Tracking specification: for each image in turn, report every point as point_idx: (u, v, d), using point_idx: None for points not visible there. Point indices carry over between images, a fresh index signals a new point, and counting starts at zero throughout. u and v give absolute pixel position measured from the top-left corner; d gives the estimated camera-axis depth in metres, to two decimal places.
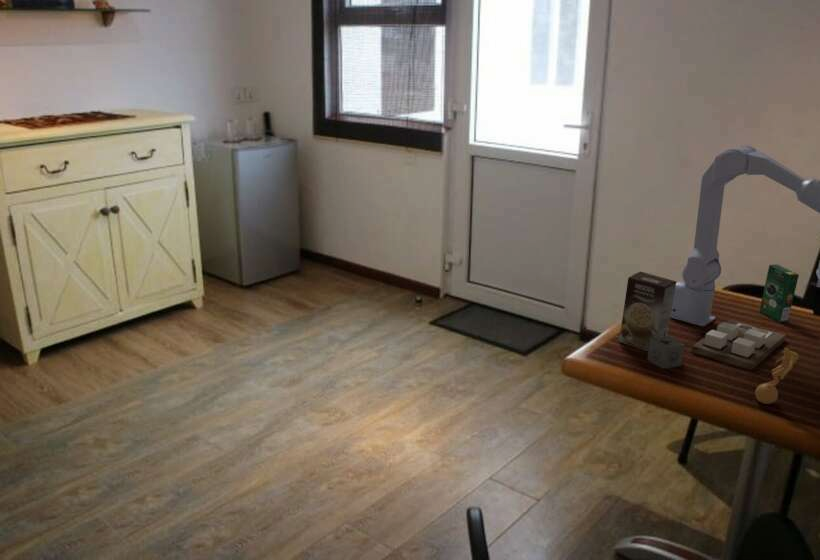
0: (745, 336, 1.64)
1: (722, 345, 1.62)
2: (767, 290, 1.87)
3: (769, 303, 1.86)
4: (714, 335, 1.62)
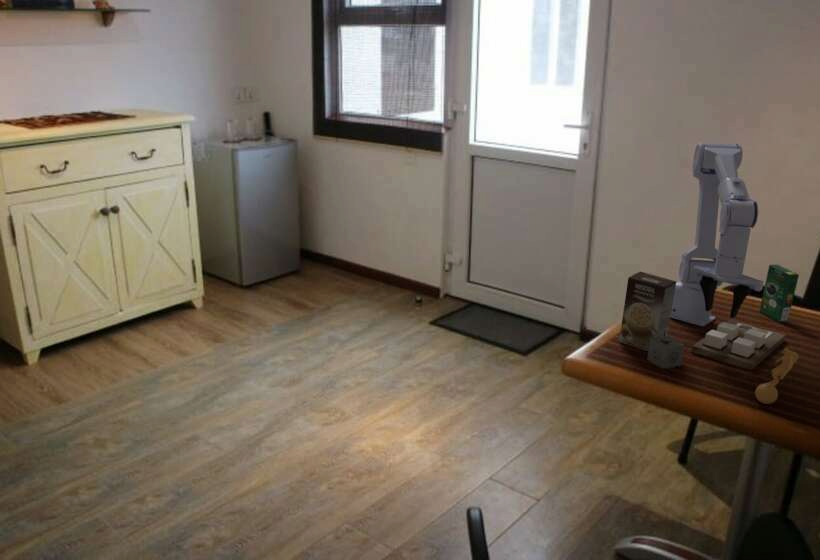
0: (745, 336, 1.64)
1: (722, 345, 1.62)
2: (767, 290, 1.87)
3: (769, 303, 1.86)
4: (714, 335, 1.62)
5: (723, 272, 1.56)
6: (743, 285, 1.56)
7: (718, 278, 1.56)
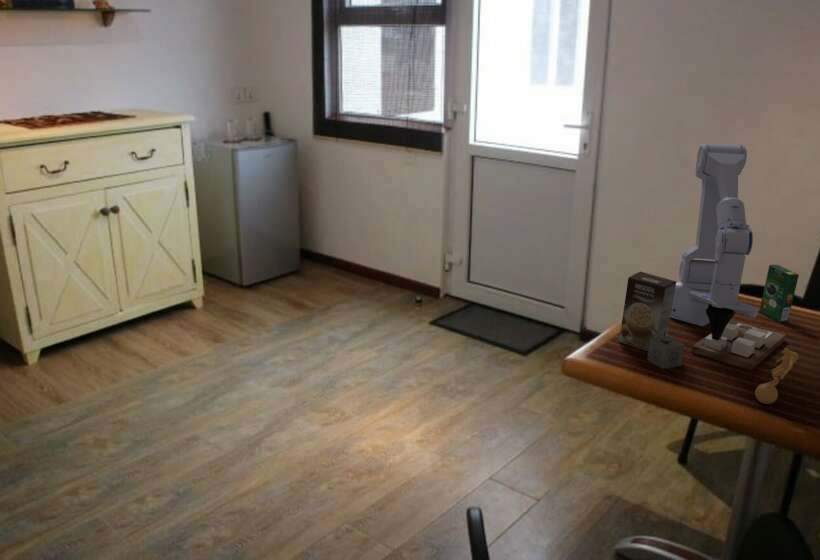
0: (745, 336, 1.64)
1: (721, 349, 1.63)
2: (767, 290, 1.87)
3: (769, 303, 1.86)
4: (714, 339, 1.63)
5: (718, 298, 1.58)
6: (738, 311, 1.58)
7: (713, 304, 1.58)
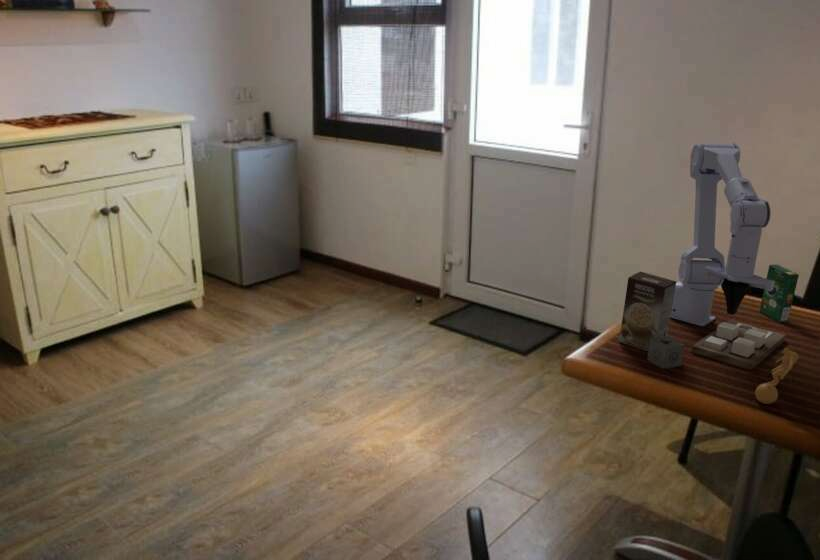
0: (745, 336, 1.64)
1: None
2: None
3: (769, 302, 1.86)
4: (713, 341, 1.63)
5: (734, 272, 1.57)
6: (754, 285, 1.57)
7: (729, 278, 1.57)
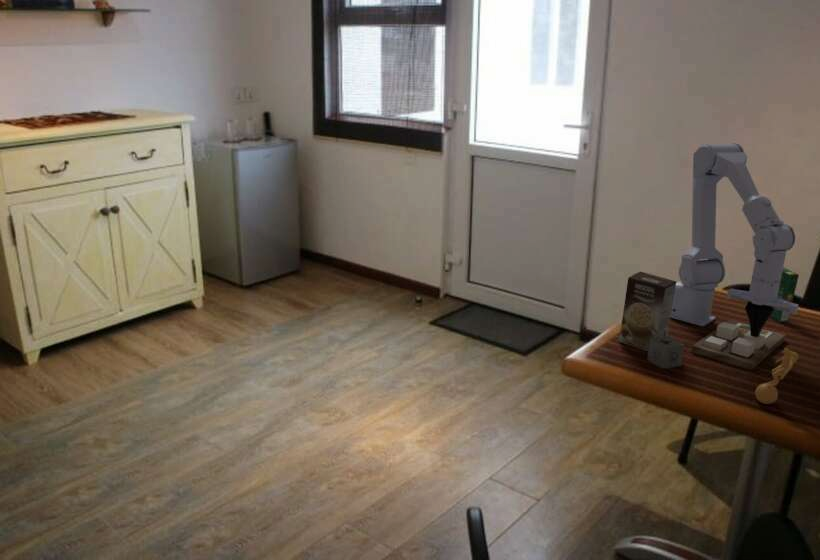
0: (745, 338, 1.64)
1: None
2: None
3: None
4: (713, 341, 1.63)
5: (758, 295, 1.59)
6: (778, 308, 1.59)
7: (753, 301, 1.59)
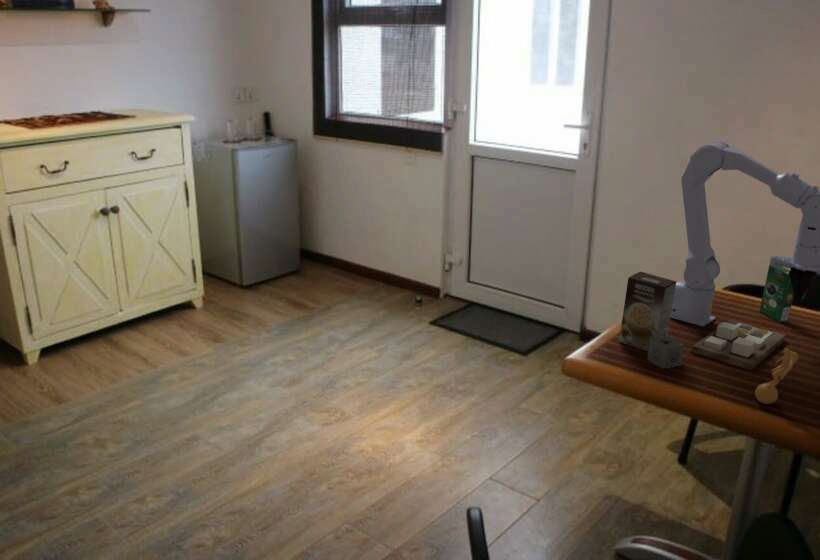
0: None
1: None
2: (767, 290, 1.87)
3: (769, 302, 1.86)
4: (713, 341, 1.63)
5: (802, 261, 1.63)
6: None
7: (798, 267, 1.63)
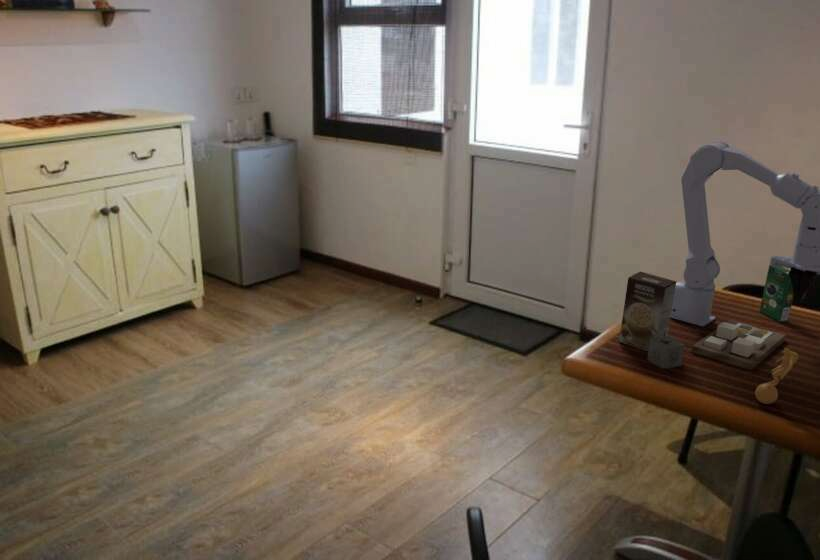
0: None
1: None
2: (767, 290, 1.87)
3: (769, 302, 1.86)
4: (713, 341, 1.63)
5: (802, 261, 1.63)
6: None
7: (798, 267, 1.63)
